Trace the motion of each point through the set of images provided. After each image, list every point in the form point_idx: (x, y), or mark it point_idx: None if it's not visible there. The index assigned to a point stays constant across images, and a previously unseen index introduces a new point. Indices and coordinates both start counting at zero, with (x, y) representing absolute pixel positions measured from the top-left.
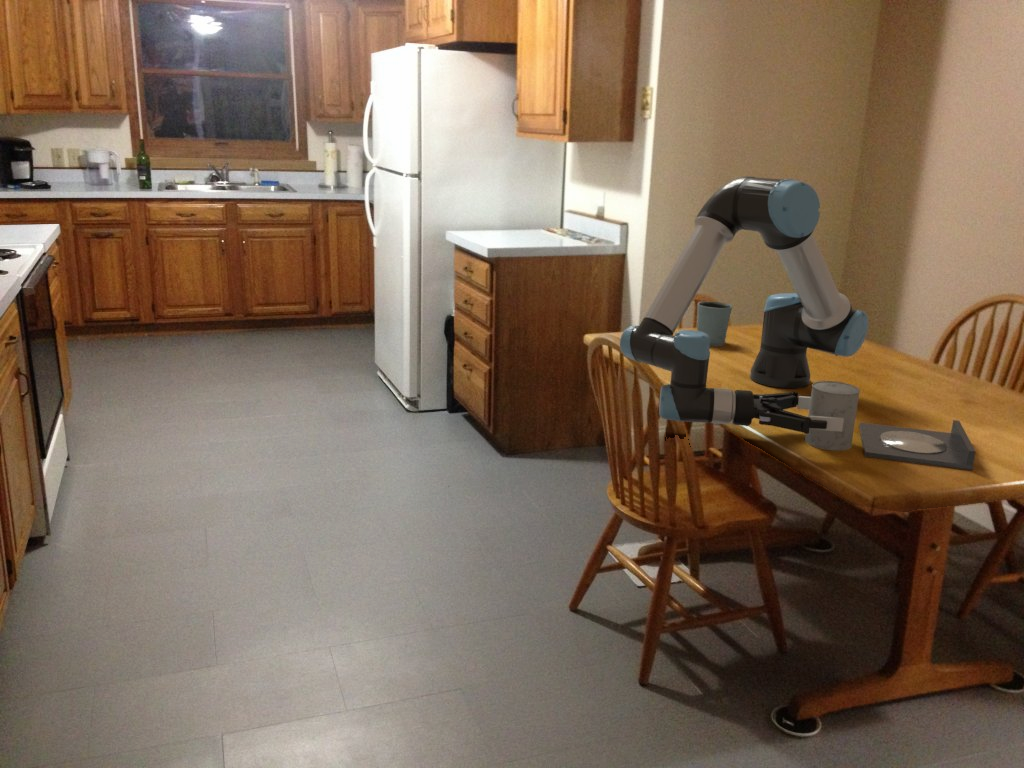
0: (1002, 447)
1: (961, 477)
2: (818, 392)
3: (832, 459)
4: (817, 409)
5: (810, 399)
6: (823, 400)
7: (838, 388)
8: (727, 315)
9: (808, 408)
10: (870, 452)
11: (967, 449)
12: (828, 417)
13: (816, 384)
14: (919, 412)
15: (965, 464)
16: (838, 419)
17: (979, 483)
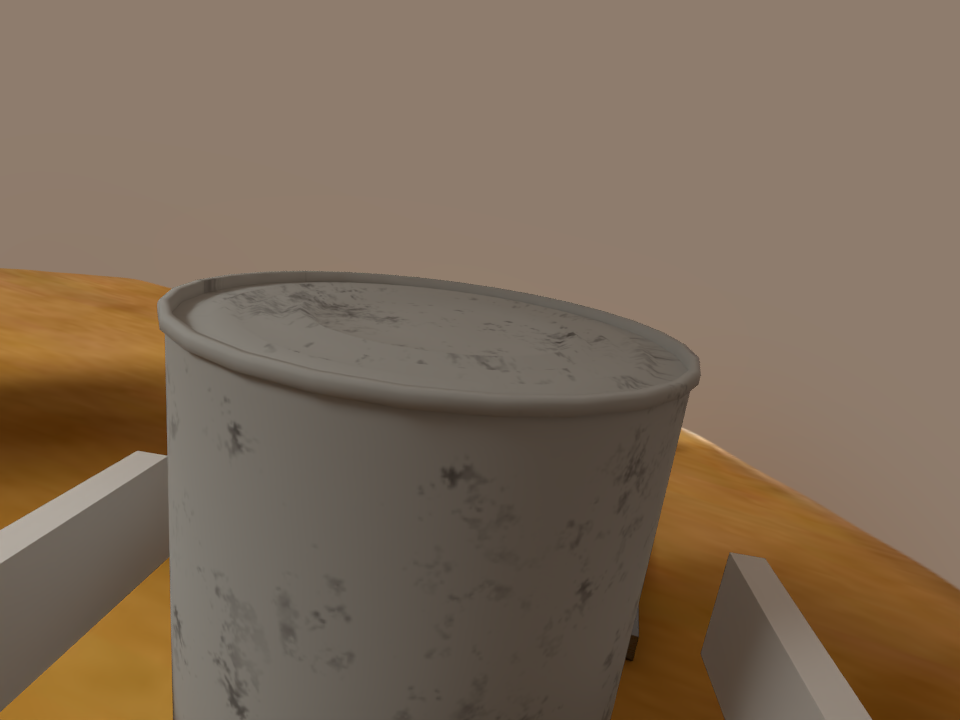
0: None
1: (713, 481)
2: (583, 442)
3: None
4: (553, 668)
5: (3, 581)
6: (631, 511)
7: (434, 317)
8: None
9: (7, 691)
10: (637, 617)
11: None
12: (815, 661)
13: (241, 348)
14: (130, 363)
15: None
16: (783, 596)
17: (740, 470)
